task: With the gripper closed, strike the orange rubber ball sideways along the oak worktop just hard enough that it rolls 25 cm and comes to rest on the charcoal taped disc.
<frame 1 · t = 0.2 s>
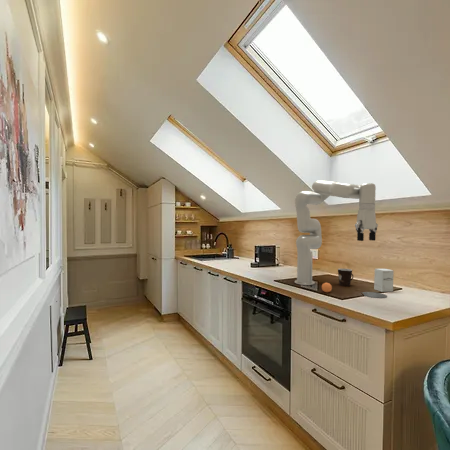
hand: (366, 240, 152), 31 cm above the counter, tool pointing down, fingers open, 9 cm apart
coffee mug: (345, 285, 186), on the counter
ball: (326, 287, 168), on the counter
supplement box: (383, 290, 174), on the counter
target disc: (373, 295, 163), on the counter
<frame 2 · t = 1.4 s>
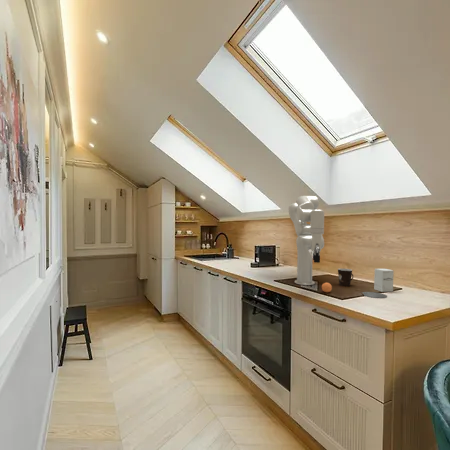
hand: (316, 261, 168), 18 cm above the counter, tool pointing down, fingers open, 9 cm apart
nothing on the counter moved.
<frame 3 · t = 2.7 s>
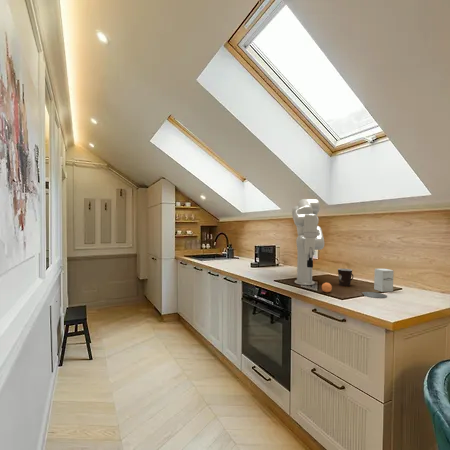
hand: (309, 267, 169), 14 cm above the counter, tool pointing down, fingers closed
nothing on the counter moved.
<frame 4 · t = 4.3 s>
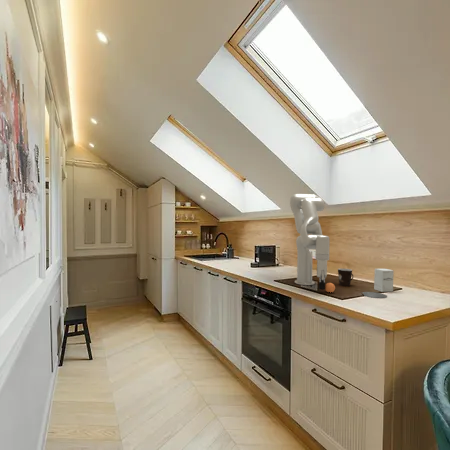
hand: (321, 289, 168), 2 cm above the counter, tool pointing down, fingers closed
ball: (329, 287, 167), on the counter
everything else where it was.
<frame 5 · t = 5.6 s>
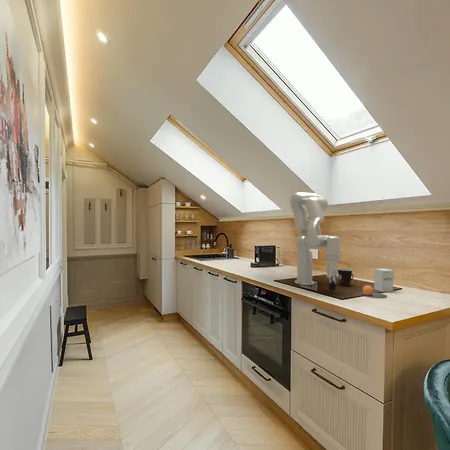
hand: (332, 289, 167), 2 cm above the counter, tool pointing down, fingers closed
ball: (368, 290, 162), on the counter
everything else where it was.
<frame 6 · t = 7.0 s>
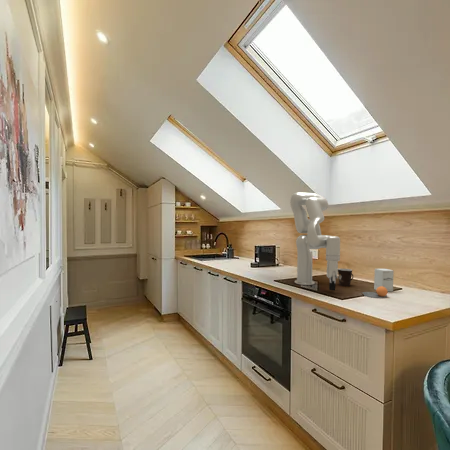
hand: (332, 289, 167), 2 cm above the counter, tool pointing down, fingers closed
ball: (381, 291, 160), on the counter
everything else where it was.
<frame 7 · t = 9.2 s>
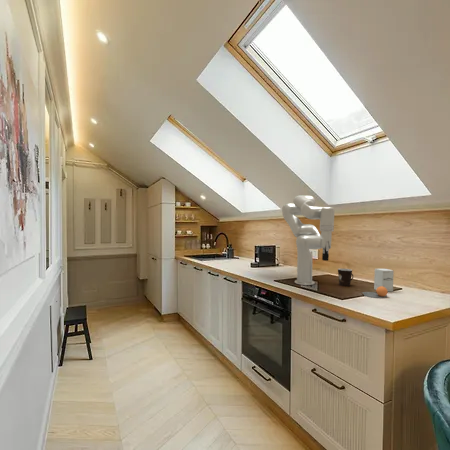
hand: (325, 260, 169), 18 cm above the counter, tool pointing down, fingers closed
nothing on the counter moved.
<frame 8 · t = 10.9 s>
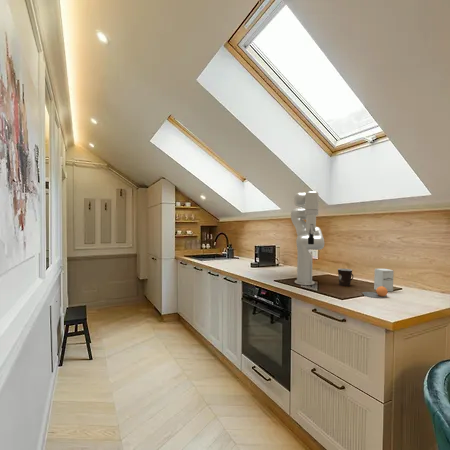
hand: (310, 244, 171), 27 cm above the counter, tool pointing down, fingers closed
nothing on the counter moved.
at the end: ball 4.0 cm from the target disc (horizontally); ball at rest at the end (0.0 cm/s); ball moved 28.4 cm from its start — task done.
